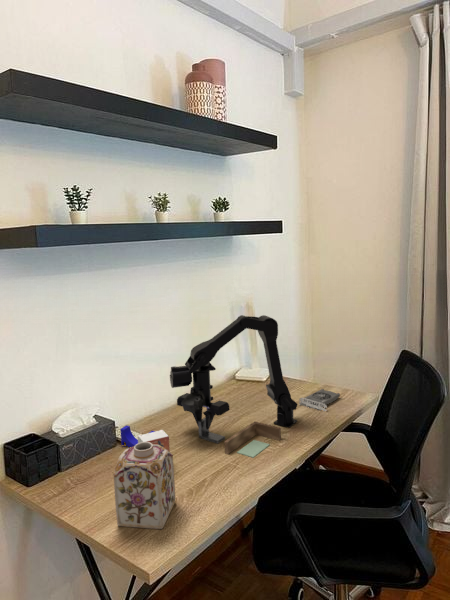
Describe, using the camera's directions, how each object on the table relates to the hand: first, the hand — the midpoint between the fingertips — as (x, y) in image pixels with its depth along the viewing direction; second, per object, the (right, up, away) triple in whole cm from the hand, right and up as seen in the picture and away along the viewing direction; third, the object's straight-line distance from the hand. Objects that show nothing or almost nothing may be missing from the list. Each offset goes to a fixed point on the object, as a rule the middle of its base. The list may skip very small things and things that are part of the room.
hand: (203, 427), depth 156 cm
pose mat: (+16, -4, -10) cm, 20 cm away
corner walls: (+17, -4, -8) cm, 19 cm away
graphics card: (+46, +2, +27) cm, 54 cm away
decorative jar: (-12, -10, -42) cm, 45 cm away
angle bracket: (+3, -3, -1) cm, 5 cm away
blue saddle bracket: (-21, -5, -5) cm, 22 cm away
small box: (-13, -7, -20) cm, 25 cm away
